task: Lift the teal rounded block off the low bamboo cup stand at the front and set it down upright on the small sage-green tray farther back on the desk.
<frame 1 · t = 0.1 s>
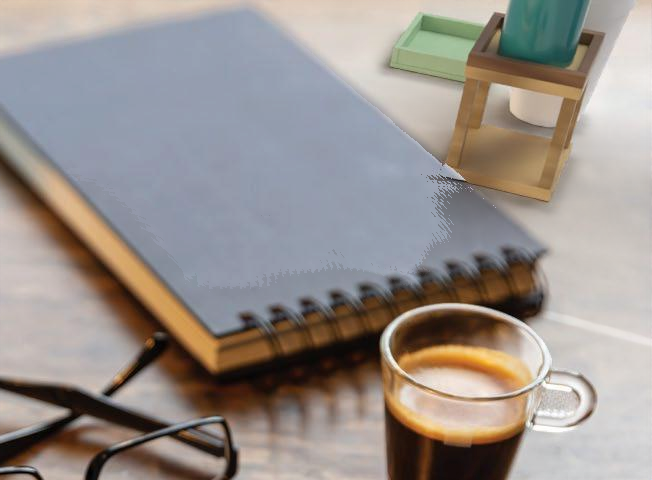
foam cup: (544, 112, 120), on the table
tray: (449, 57, 128), on the table
stand: (505, 164, 112), on the table
teal rounded block: (535, 54, 106), point 10 cm above the table, touching stand
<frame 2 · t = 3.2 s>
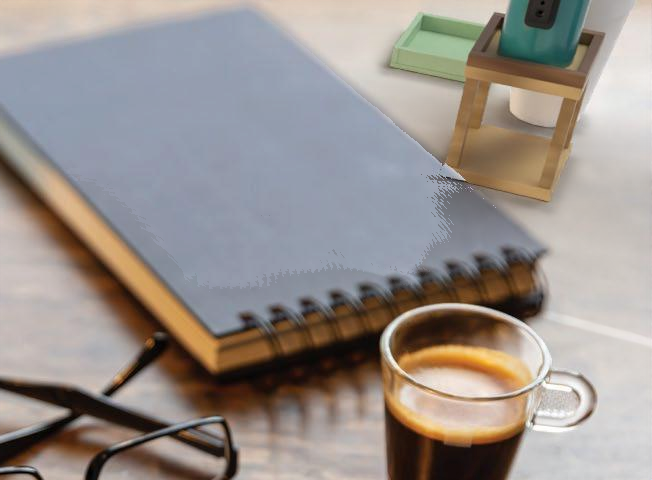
hand: (546, 9, 103), 14 cm above the table, tool pointing down, fingers closed on teal rounded block, 6 cm apart
teal rounded block: (535, 54, 106), point 10 cm above the table, touching gripper, stand
everything else where it was.
when the fingers open (4 cm above the table, at t = 10.8 s): teal rounded block stays where it is, resting on tray.
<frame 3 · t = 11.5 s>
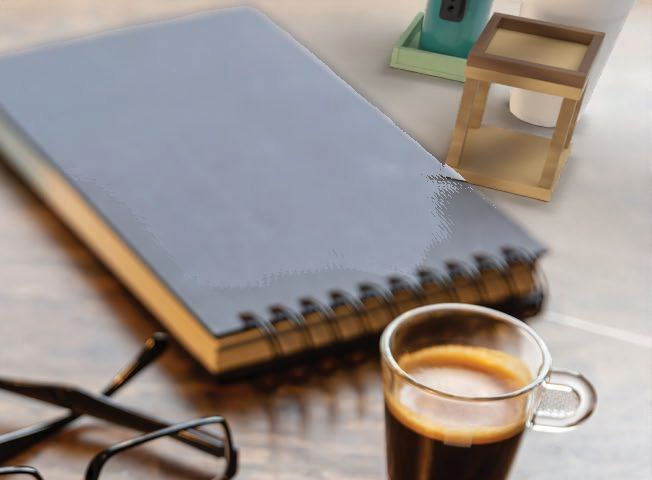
hand: (462, 3, 124), 5 cm above the table, tool pointing down, fingers open, 8 cm apart
teal rounded block: (448, 52, 128), resting on tray
everything else where it was.
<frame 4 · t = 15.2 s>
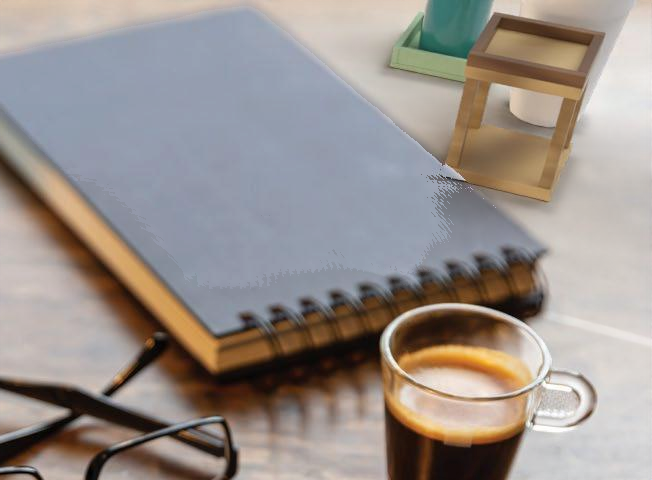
nothing on the table moved.
at the end: teal rounded block 0.1 cm off-centre in the tray, point 0.5 cm above the tray's base; teal rounded block tilted 0° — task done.
